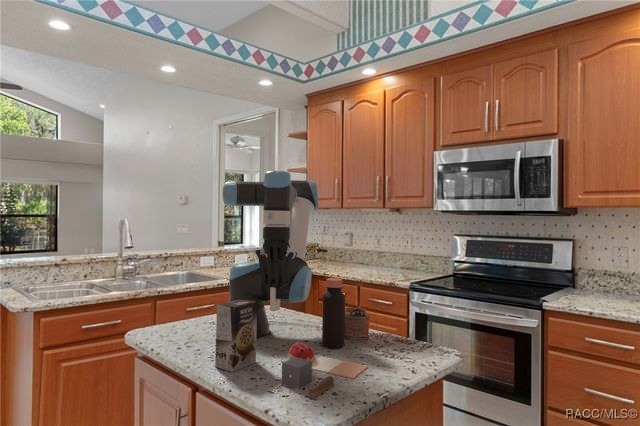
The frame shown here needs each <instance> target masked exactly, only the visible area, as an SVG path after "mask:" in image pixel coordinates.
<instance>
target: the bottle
mask: <svg viewBox="0 0 640 426" xmlns="http://www.w3.org/2000/svg"><path fill="white" fill-rule="evenodd" d="M325 287H326V292H325V293H324V294H323V295H322V323H321V324H322V326H321V329H322V330H321V336H322V337H321V346H322V347H324V348H327V349H331V350H338V349H342V348H344V347H345V346H346V345H345V343H346V340H345V315H346V295H345V294H344V293H343V292H342V289H343V279H342V278H337V277H336V278H335V277H329V278H326V281H325Z"/></svg>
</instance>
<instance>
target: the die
mask: <svg viewBox="0 0 640 426" xmlns="http://www.w3.org/2000/svg"><path fill="white" fill-rule="evenodd" d="M312 382H313V370H312V361H309V360H305V359H301V358H297V357H294V358H292V359H290V360H287V361H285V362H283V363H282V362H281V385H283V386H287V387H288V388H293V389H295V390H301V389H302V388H304V387H306V386H308V385H310V384H311V383H312Z"/></svg>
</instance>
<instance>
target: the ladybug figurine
mask: <svg viewBox="0 0 640 426" xmlns="http://www.w3.org/2000/svg"><path fill="white" fill-rule="evenodd" d="M287 355H288V358H289V357H290V358H291V359H292V358H294V357H297V358H301V359H305V360H309V361H314V359H315V355H316V354H315V352H314V351H313V349H312V347H310V345H308V344H306V343H303V342H295V343H294V344H293V345H292V346H291V347H290V349H289V350H288V354H287Z"/></svg>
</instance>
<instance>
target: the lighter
mask: <svg viewBox="0 0 640 426" xmlns="http://www.w3.org/2000/svg"><path fill="white" fill-rule="evenodd" d="M346 313H347V314H346ZM348 313H349V314H348ZM353 313H354V314H353ZM366 313H367V312H366V308H361V307H359V306H357V307H355V308H354V307H345V341H354V342H355V341H356V342H358V341H359V342H368V341H369V340H370V336H369V335H370V334H369V333H370V332H369V330H370V329H369V327H370V325H369V324H370V315H368V314H366Z"/></svg>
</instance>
